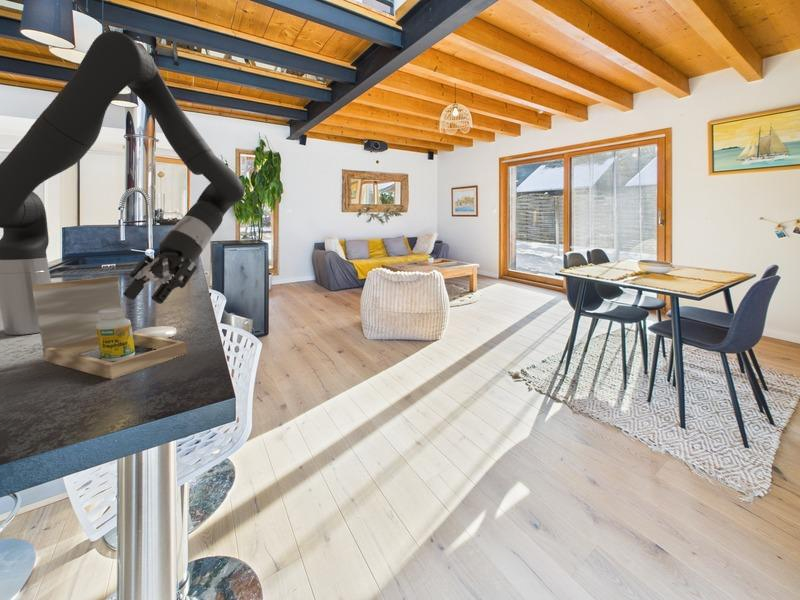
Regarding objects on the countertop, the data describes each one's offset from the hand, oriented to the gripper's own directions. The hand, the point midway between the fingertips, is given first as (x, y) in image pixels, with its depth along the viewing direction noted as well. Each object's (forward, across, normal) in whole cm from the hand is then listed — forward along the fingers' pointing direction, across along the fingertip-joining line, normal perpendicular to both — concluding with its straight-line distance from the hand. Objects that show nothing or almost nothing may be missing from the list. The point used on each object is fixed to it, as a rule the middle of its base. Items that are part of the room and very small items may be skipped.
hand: (141, 299), depth 76 cm
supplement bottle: (+12, 0, +4) cm, 12 cm away
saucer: (+3, -7, +12) cm, 14 cm away
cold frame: (+12, 0, +3) cm, 12 cm away
